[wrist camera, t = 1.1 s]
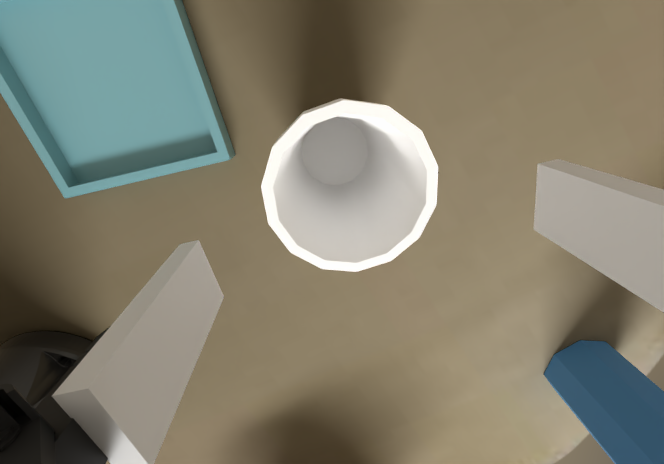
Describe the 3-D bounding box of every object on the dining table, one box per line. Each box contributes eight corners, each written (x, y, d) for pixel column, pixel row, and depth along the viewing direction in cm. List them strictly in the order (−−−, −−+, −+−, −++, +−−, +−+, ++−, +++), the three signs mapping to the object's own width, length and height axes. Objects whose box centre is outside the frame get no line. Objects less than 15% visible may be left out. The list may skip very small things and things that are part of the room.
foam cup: (274, 100, 27) (246, 110, 15) (383, 88, 27) (441, 89, 15) (291, 206, 31) (279, 280, 19) (386, 195, 31) (434, 262, 19)
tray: (80, 191, 29) (64, 198, 27) (-31, 0, 23) (-61, -8, 21) (235, 154, 28) (230, 159, 26) (164, -51, 22) (151, -64, 20)
